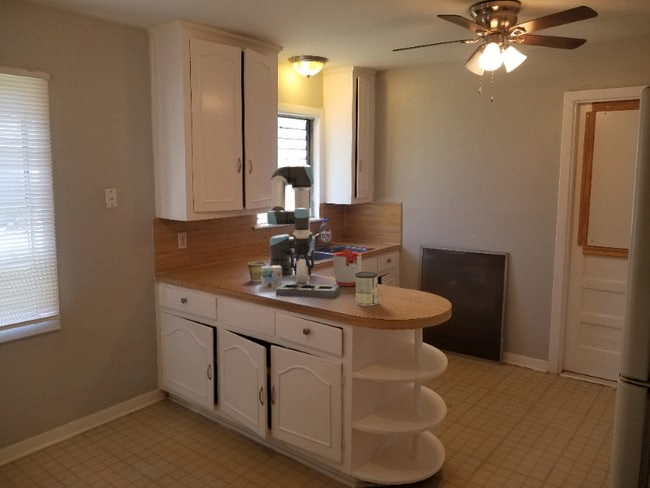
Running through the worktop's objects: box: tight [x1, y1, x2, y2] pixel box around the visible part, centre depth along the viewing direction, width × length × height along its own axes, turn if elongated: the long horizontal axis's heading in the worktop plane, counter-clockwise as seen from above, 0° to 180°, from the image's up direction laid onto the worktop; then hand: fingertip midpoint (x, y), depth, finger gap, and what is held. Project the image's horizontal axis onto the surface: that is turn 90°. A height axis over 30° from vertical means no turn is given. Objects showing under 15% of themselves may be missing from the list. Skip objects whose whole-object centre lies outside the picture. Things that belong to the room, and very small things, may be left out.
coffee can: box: [355, 271, 379, 307], centre depth 256 cm, size 10×10×14 cm
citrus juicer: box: [332, 248, 362, 287], centre depth 296 cm, size 16×17×20 cm
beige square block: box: [296, 258, 310, 284], centre depth 290 cm, size 5×5×15 cm
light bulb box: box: [260, 265, 283, 289], centre depth 296 cm, size 11×7×11 cm, turn 105°
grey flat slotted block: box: [275, 282, 341, 299], centre depth 278 cm, size 13×30×4 cm, turn 77°
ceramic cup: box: [247, 261, 267, 283], centre depth 313 cm, size 13×10×10 cm
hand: (302, 281), depth 290 cm, fingers closed on beige square block, 5 cm apart
